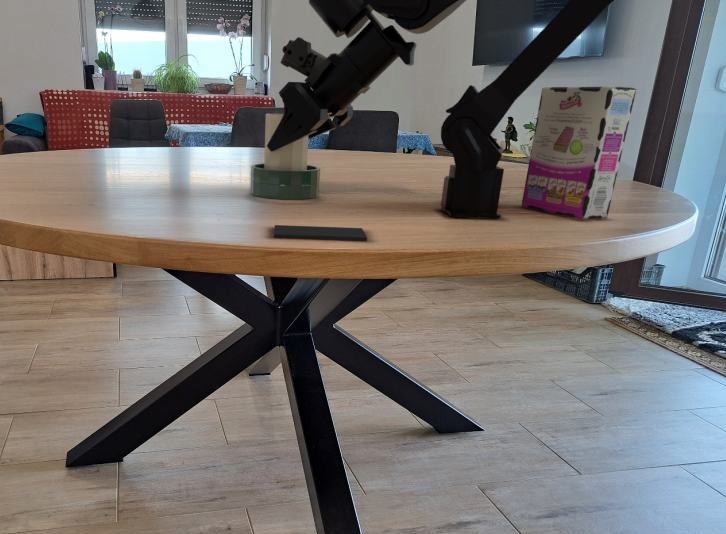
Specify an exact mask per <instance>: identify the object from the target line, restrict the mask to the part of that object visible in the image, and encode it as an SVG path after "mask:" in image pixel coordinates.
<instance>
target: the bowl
mask: <svg viewBox="0 0 726 534" xmlns="http://www.w3.org/2000/svg"><path fill="white" fill-rule="evenodd" d="M320 181H321V167H320V166H316V165H311V164H307V170H303V171H287V170H270V169H264V162H261V163H254V164H251V166H250V189H249V190H250V191H249V192H250V193H249V194H250V195H252V196H255V197H258V198H264V199H272V200H287V201H288V200H290V201H293V200H295V201H296V200H297V201H299V200H309V199H316V198H318V197H319V196H320V184H321V183H320Z"/></svg>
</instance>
